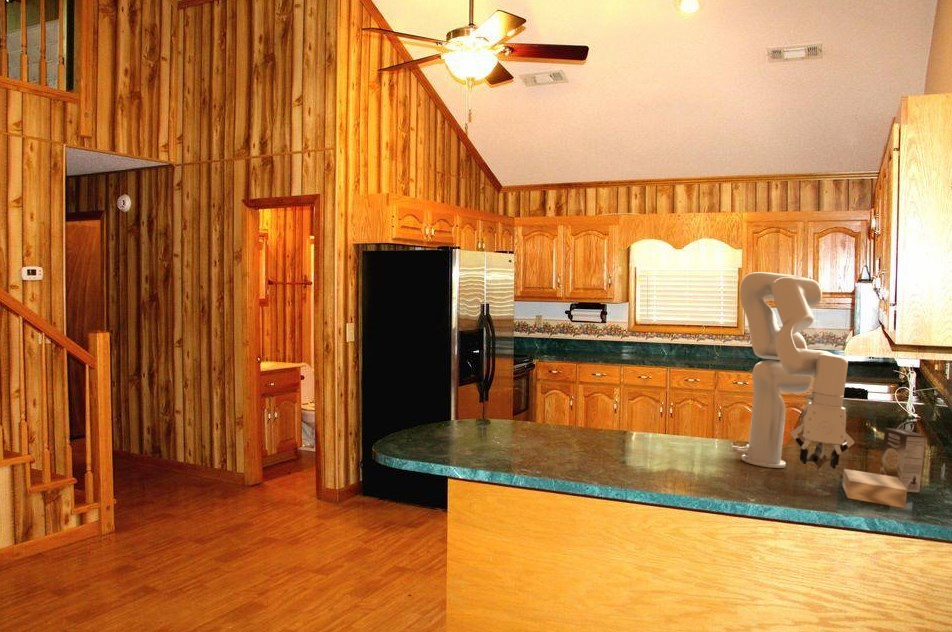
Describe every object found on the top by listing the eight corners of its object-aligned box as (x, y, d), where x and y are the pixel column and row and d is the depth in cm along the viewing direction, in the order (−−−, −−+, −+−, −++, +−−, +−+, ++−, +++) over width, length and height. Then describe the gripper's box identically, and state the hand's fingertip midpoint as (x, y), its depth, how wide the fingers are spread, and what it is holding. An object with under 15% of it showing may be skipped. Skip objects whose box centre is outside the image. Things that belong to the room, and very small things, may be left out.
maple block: (847, 499, 184) (849, 480, 184) (842, 486, 198) (843, 468, 198) (905, 509, 179) (907, 489, 179) (895, 495, 193) (897, 477, 193)
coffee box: (877, 482, 205) (883, 427, 204) (897, 483, 206) (904, 428, 205) (899, 491, 196) (905, 434, 195) (920, 492, 197) (927, 435, 196)
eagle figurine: (840, 469, 190) (827, 453, 198) (830, 447, 188) (817, 432, 197) (812, 480, 191) (800, 464, 200) (802, 458, 190) (791, 443, 198)
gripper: (795, 398, 189) (786, 463, 190) (866, 407, 184) (856, 474, 186) (789, 393, 196) (781, 456, 197) (858, 402, 192) (849, 466, 193)
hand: (818, 464), depth 192 cm, fingers closed on eagle figurine, 6 cm apart
